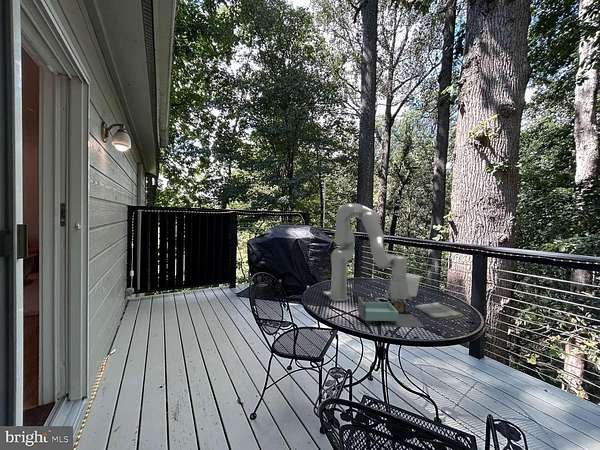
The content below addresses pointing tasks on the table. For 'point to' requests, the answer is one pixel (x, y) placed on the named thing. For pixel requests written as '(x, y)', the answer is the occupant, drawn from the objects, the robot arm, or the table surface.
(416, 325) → the dock mat
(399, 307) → the walnut block
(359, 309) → the mint green cubby
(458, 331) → the table surface
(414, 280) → the foam cup
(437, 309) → the dish towel
